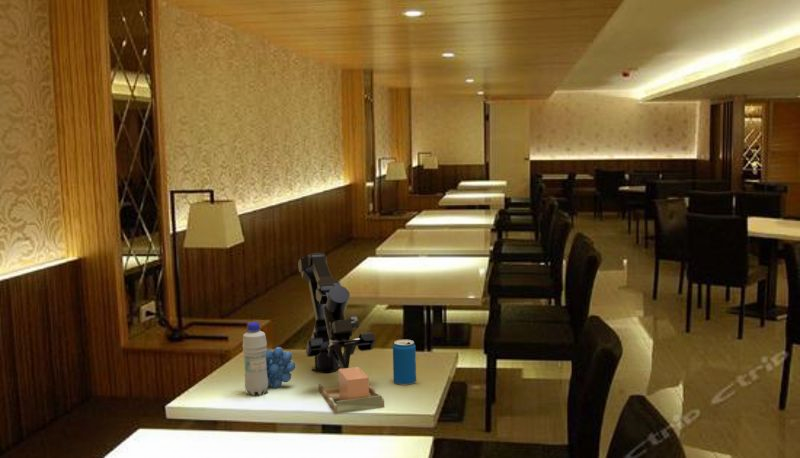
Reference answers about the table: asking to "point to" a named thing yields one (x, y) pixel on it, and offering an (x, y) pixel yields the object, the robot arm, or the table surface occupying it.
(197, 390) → the table surface
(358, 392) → the brick
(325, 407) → the table surface
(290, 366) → the grapes
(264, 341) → the bottle
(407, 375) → the beverage can
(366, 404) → the box
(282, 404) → the table surface
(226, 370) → the table surface
